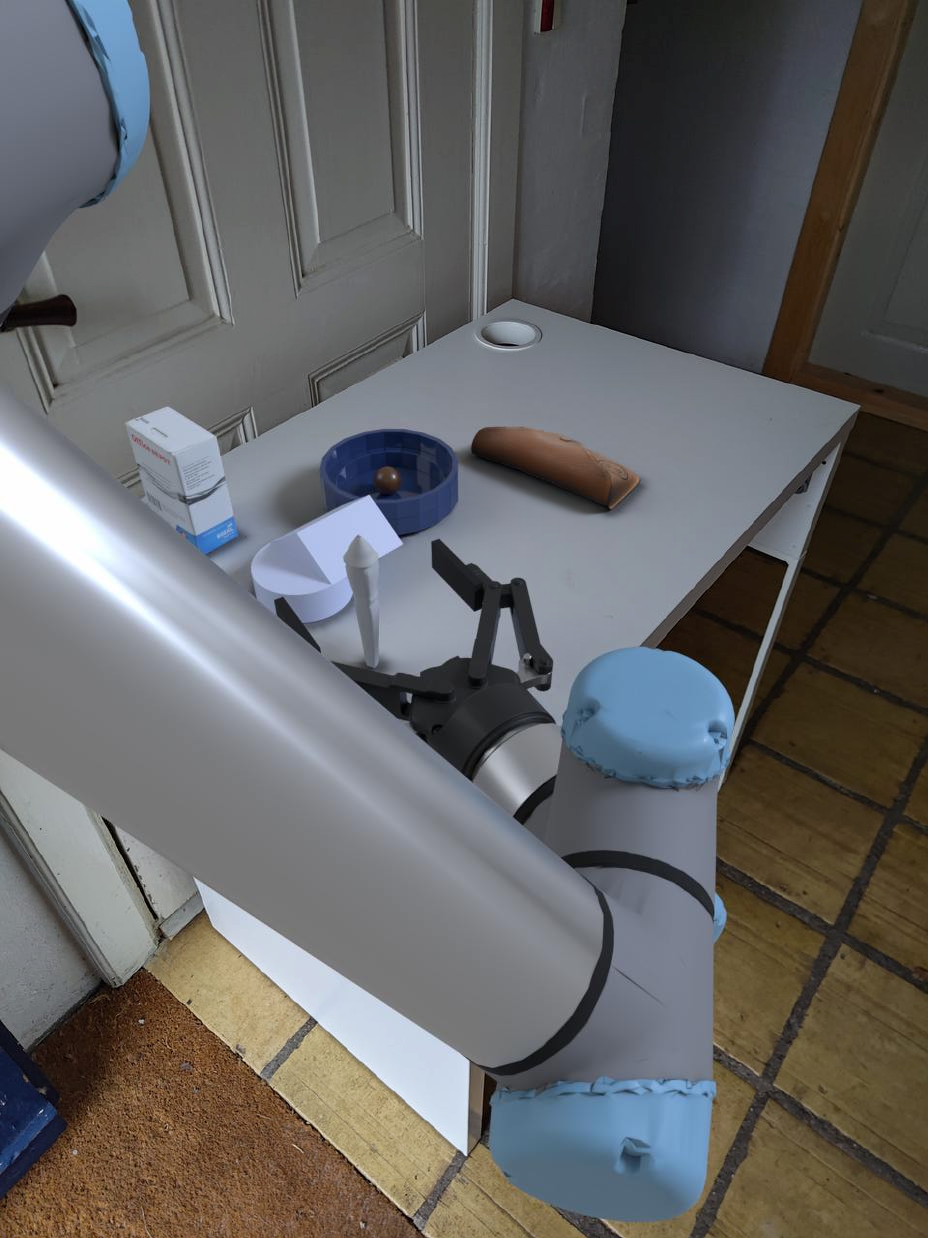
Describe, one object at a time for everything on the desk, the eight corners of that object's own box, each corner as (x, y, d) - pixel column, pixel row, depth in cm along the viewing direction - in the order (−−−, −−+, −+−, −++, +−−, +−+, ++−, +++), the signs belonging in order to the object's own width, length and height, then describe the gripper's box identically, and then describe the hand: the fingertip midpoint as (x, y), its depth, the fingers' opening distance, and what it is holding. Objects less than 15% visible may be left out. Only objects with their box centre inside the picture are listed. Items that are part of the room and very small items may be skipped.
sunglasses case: (646, 475, 95) (638, 442, 89) (615, 527, 94) (605, 498, 88) (511, 425, 103) (495, 392, 97) (481, 473, 102) (463, 443, 96)
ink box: (240, 537, 87) (218, 434, 79) (198, 559, 85) (171, 454, 77) (192, 503, 92) (167, 402, 84) (151, 523, 89) (121, 421, 81)
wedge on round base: (345, 532, 88) (237, 590, 81) (338, 476, 83) (224, 532, 77) (404, 571, 83) (296, 637, 76) (401, 514, 79) (285, 578, 72)
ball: (368, 464, 90) (389, 460, 92) (366, 492, 92) (387, 487, 94) (388, 473, 89) (408, 468, 91) (386, 501, 90) (406, 495, 92)
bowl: (316, 539, 87) (311, 502, 84) (332, 463, 98) (328, 428, 94) (457, 540, 87) (457, 503, 84) (458, 464, 98) (458, 428, 95)
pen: (379, 679, 73) (367, 548, 63) (351, 670, 73) (334, 539, 64) (392, 659, 74) (382, 529, 65) (364, 651, 75) (350, 521, 66)
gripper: (342, 888, 52) (218, 674, 66) (654, 722, 62) (492, 566, 76) (330, 816, 47) (198, 600, 61) (672, 648, 57) (494, 494, 70)
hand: (360, 580), depth 68 cm, fingers open, 13 cm apart
